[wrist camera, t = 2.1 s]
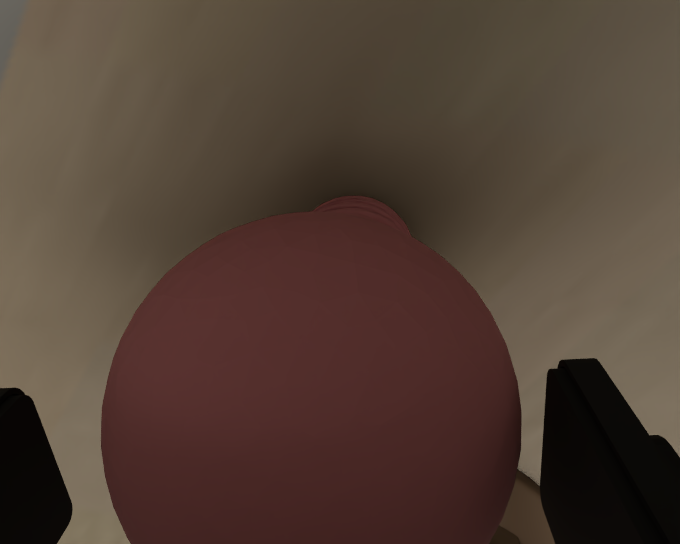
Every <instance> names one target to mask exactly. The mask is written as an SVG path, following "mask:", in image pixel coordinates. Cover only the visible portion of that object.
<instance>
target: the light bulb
mask: <svg viewBox="0 0 680 544" xmlns="http://www.w3.org/2000/svg"><path fill="white" fill-rule="evenodd" d="M101 449H102V457H103V464H104V472H105V478H106V482H107V485H108V489H109V492H110V496H111V500H112V503H113V507H114V509H115V511H116V514H117V516H118V518H119V520H120V523H121V525H122V527H123V529H124V531H125V534H126V536H127V538H128V540H129V541H130V543H131V544H489V543H490V541H491V539H492V537H493V535H494V533H495V532H496V530H497V528H498V526H499V524H500V522H501V520H502V518H503V516H504V513H505V510H506V507H507V504H508V501H509V499H510V496H511V493H512V490H513V487H514V484H515V478H516V473H517V467H518V462H519V456H520V451H521V405H520V397H519V390H518V382H517V379H516V375H515V372H514V368H513V365H512V362H511V358H510V355H509V352H508V349H507V345H506V343H505V341H504V339H503V337H502V335H501V333H500V331H499V329H498V327H497V325H496V323H495V321H494V319H493V317H492V315H491V313H490V311H489V310H488V308H487V307H486V305H485V304H484V302H483V301H482V299H481V298H480V296H479V295H478V293H477V292H476V291H475V289H474V288H473V287H472V286H471V285H470V284H469V283H468V282H467V281H466V279H465V278H464V277H463V276H462V275H461V274H460V273H459V272H458V271H457V270H456V269H455V268H454V267H453V266H451V265H450V264H449V263H448V262H447V261H446V260H445V259H444V258H442V257H441V256H440V255H439V254H437V253H436V252H435V251H433V250H432V249H430V248H429V247H427V246H426V245H424V244H423V243H421V242H420V241H418V240H416V239H414V238H413V237H411V235H410V232H409V230H408V227H407V225H406V224H405V223H404V221H403V220H402V219H401V218H400V216H399V215H398V214H397V213H396V212H395V211H394V210H392V209H391V208H390V207H388V206H387V205H385V204H384V203H382V202H380V201H377V200H375V199H373V198H369V197H364V196H343V197H339V198H334V199H332V200H330V201H327V202H325V203H323V204H321V205H319V206H318V207H317V208H315V209H314V210H313V211H311V212H295V213H288V214H282V215H275V216H270V217H267V218H263V219H260V220H256V221H253V222H250V223H247V224H244V225H242V226H239V227H236V228H233V229H231V230H229V231H226V232H224V233H222V234H220V235H218V236H216V237H215V238H213V239H211V240H210V241H208V242H206V243H205V244H203V245H202V246H200V247H199V248H197V249H196V250H195V251H193V252H192V253H190V254H189V255H187V256H186V257H185V258H184V259H182V260H181V261H180V262H179V263H178V264H177V265H175V266H174V267H173V268H172V269H171V270H170V271H168V272H167V273H166V274H165V275H164V276H163V278H162V279H161V280H160V281H159V282H158V283H157V285H156V286H155V287H154V288H153V289H152V290H151V292H150V293H149V294H148V295H147V297H146V298H145V299H144V301H143V302H142V303H141V305H140V306H139V308H138V309H137V310H136V312H135V314H134V315H133V317H132V319H131V321H130V323H129V325H128V327H127V328H126V330H125V332H124V334H123V336H122V338H121V340H120V343H119V345H118V348H117V350H116V353H115V355H114V358H113V361H112V365H111V369H110V372H109V376H108V380H107V385H106V390H105V395H104V400H103V405H102V421H101Z"/></svg>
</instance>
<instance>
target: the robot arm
mask: <svg viewBox="0 0 680 544" xmlns="http://www.w3.org/2000/svg"><path fill="white" fill-rule="evenodd" d="M540 497H541V503H542V507H543V510H544V513H545V516H546V519H547V522H548V525H549V527H550V530H551V533H552V536H553V539H554V542H555V544H680V457H679V456H678V454H677V453H676V452H675V450H674V449H673V448H672V446H671V445H670V444H669V443H668V442H667V440H666V439H665V438H663V437H661V436H659V435H649V434H648V433H647V431H646V430H645V428H644V427H643V425H642V424H641V422H640V421H639V419H638V418H637V417H636V415H635V414H634V412H633V411H632V409H631V408H630V406H629V405H628V403H627V402H626V400H625V399H624V397H623V396H622V394H621V393H620V392H619V390H618V389H617V387H616V386H615V384H614V383H613V381H612V380H611V378H610V377H609V375H608V374H607V372H606V371H605V369H604V368H603V367H602V365H601V364H600V362H599V361H598V360H597V359H595V358H588V359H569V360H561V361H560V362H559V364H558V369H549V370H548V373H547V384H546V400H545V415H544V431H543V447H542V463H541V478H540ZM71 516H72V503H71V499H70V497H69V494H68V492H67V489H66V486H65V484H64V481H63V478H62V476H61V473H60V470H59V468H58V465H57V463H56V460H55V457H54V455H53V452H52V449H51V447H50V444H49V442H48V439H47V436H46V434H45V431H44V428H43V426H42V423H41V420H40V418H39V415H38V413H37V410H36V407H35V405H34V402H33V400H32V398H30V397H29V396H27V395H25V394H24V392H23V391H22V390H20V389H18V388H0V544H57V543H58V541H59V539H60V538H61V536H62V534H63V533H64V531H65V529H66V528H67V526H68V524H69V522H70V520H71Z"/></svg>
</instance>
